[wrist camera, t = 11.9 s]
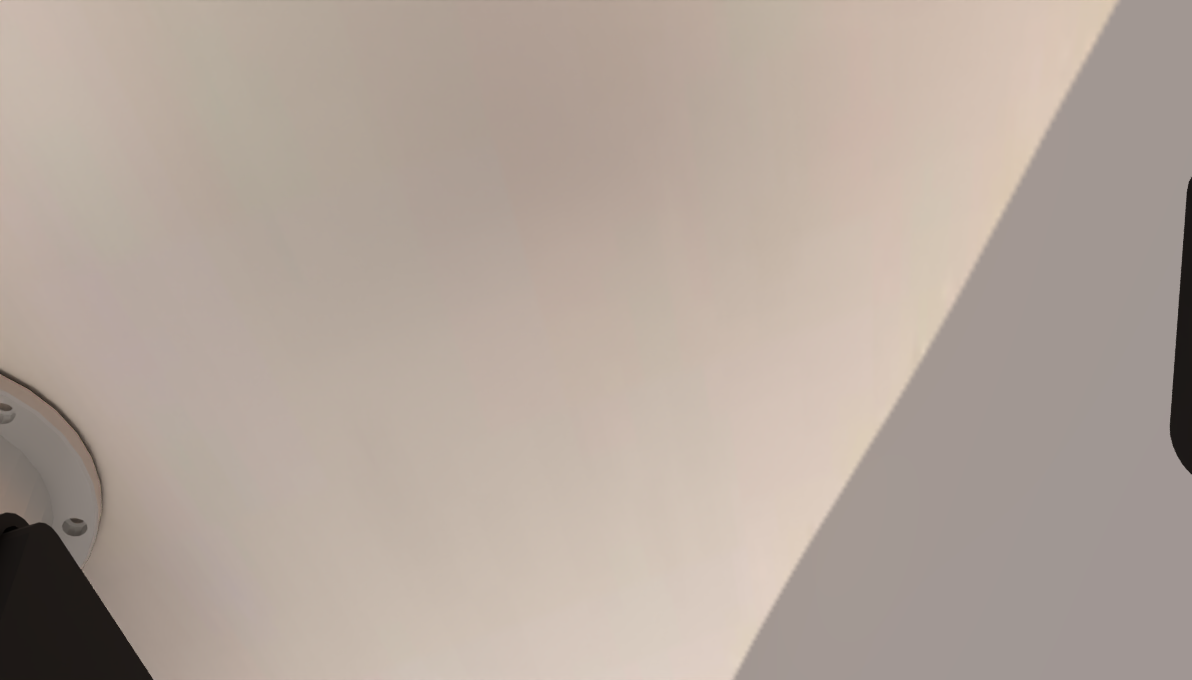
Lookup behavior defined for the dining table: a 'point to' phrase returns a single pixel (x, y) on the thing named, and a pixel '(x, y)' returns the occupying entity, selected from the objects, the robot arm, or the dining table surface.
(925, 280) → the dining table surface
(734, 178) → the dining table surface
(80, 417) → the dining table surface
